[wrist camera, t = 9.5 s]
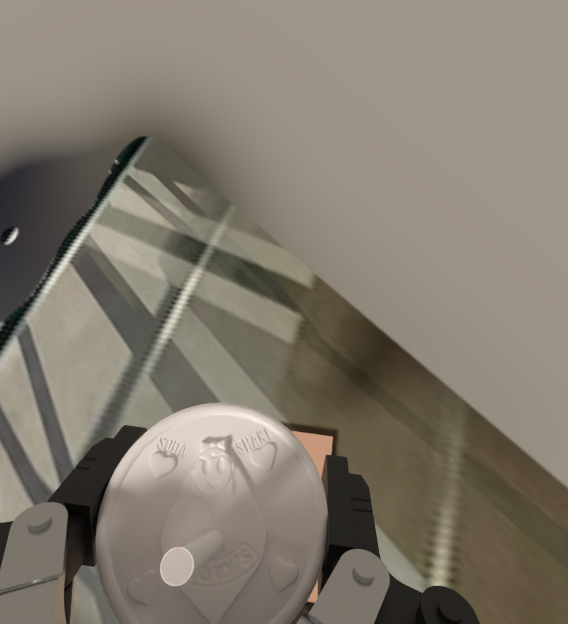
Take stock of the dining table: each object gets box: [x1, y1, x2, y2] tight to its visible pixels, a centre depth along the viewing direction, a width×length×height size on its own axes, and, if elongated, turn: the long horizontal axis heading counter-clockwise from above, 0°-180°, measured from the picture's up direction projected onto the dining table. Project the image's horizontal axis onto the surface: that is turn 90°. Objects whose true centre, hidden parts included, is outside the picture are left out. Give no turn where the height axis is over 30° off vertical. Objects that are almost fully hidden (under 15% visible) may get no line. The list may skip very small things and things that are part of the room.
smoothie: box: [96, 403, 328, 624], centre depth 13 cm, size 6×6×14 cm
